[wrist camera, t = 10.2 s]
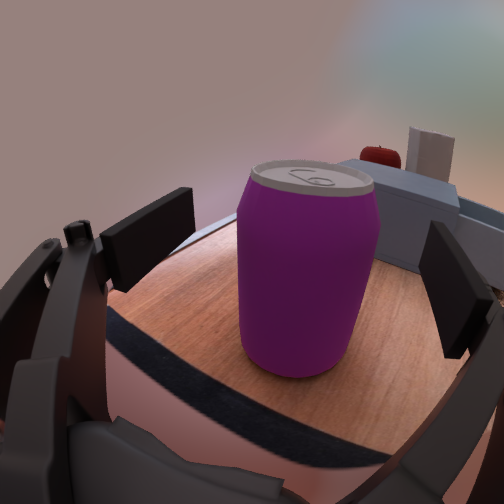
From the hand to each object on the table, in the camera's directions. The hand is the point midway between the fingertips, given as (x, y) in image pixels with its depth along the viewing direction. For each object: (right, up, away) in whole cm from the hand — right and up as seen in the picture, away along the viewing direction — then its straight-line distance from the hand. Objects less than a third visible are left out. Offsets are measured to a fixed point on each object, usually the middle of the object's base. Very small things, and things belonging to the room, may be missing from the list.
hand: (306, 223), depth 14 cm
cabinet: (+15, 0, +20) cm, 25 cm away
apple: (+25, +13, +43) cm, 51 cm away
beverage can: (0, -8, +5) cm, 10 cm away
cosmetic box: (+32, +8, +35) cm, 48 cm away
